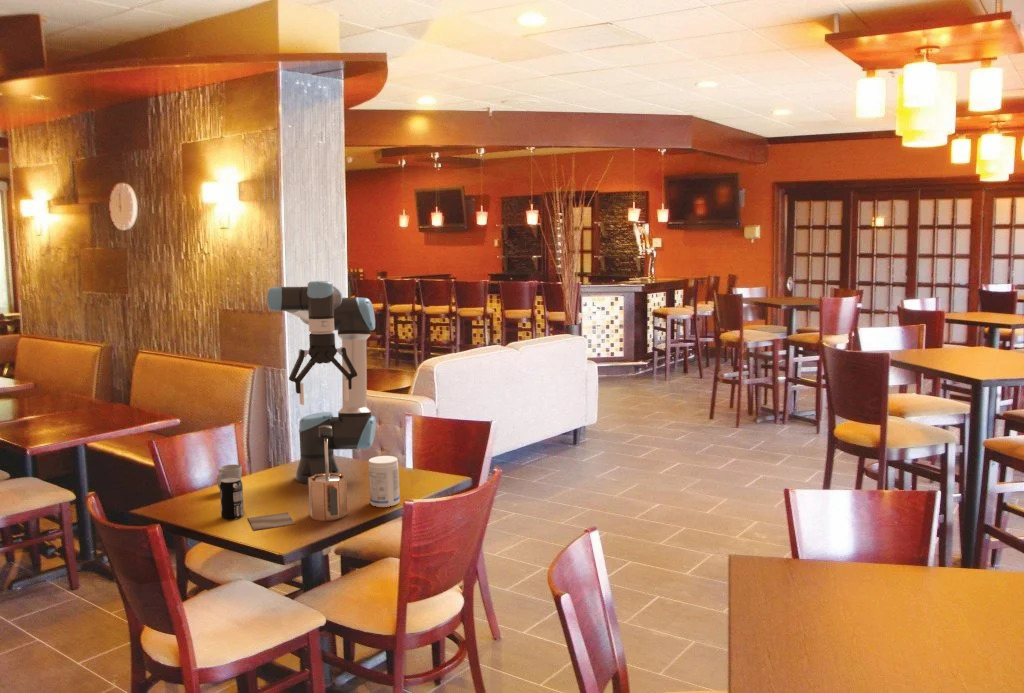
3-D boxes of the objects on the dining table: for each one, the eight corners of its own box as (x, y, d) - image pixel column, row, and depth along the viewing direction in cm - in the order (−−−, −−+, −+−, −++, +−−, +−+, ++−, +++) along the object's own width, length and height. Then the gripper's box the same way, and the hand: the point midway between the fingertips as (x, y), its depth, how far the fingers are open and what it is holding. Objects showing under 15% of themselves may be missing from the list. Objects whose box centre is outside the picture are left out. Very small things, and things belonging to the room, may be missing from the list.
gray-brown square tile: (248, 518, 258) (248, 517, 258) (287, 513, 263) (287, 512, 263) (253, 530, 247) (253, 529, 247) (295, 524, 252) (295, 523, 252)
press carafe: (307, 513, 263) (306, 475, 262) (341, 508, 267) (340, 471, 266) (316, 526, 251) (315, 486, 249) (352, 520, 255) (351, 482, 254)
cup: (247, 489, 289) (246, 465, 288) (227, 497, 280) (226, 472, 279) (230, 487, 292) (229, 463, 291) (209, 495, 283) (208, 470, 282)
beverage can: (221, 515, 262) (219, 477, 260) (243, 512, 264) (241, 475, 263) (221, 521, 256) (219, 483, 254) (244, 518, 258) (242, 480, 257)
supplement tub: (390, 497, 279) (388, 453, 277) (405, 504, 271) (404, 459, 269) (364, 503, 272) (362, 458, 271) (379, 510, 265) (377, 464, 263)
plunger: (312, 480, 261) (310, 425, 259) (336, 476, 264) (334, 423, 262) (317, 486, 254) (315, 430, 252) (342, 483, 257) (340, 427, 255)
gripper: (281, 335, 245) (284, 407, 247) (365, 331, 255) (367, 400, 258) (277, 333, 252) (280, 403, 254) (359, 329, 262) (361, 396, 264)
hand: (324, 402), depth 256 cm, fingers open, 13 cm apart
